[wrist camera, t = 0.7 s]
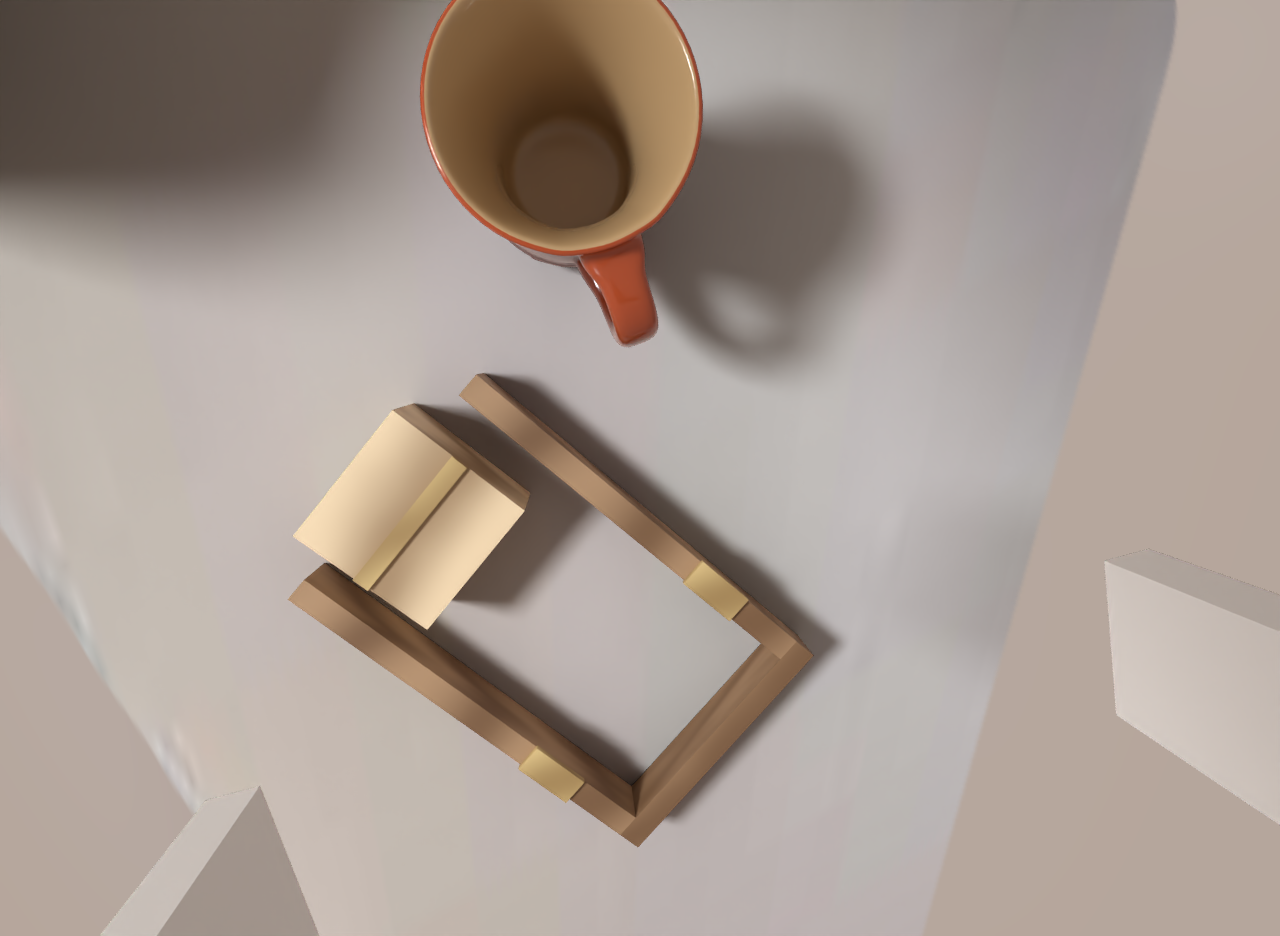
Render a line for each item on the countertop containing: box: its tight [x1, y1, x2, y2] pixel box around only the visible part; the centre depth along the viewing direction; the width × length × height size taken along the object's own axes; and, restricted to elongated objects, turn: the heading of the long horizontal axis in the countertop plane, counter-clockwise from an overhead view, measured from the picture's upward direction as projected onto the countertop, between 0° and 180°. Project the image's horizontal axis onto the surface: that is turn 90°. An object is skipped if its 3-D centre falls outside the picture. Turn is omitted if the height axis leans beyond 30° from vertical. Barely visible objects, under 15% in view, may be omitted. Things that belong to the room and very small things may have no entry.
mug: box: [420, 0, 703, 347], centre depth 26 cm, size 12×9×10 cm
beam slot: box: [288, 373, 814, 847], centre depth 32 cm, size 21×14×3 cm, turn 49°
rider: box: [293, 404, 530, 629], centre depth 30 cm, size 7×7×4 cm
